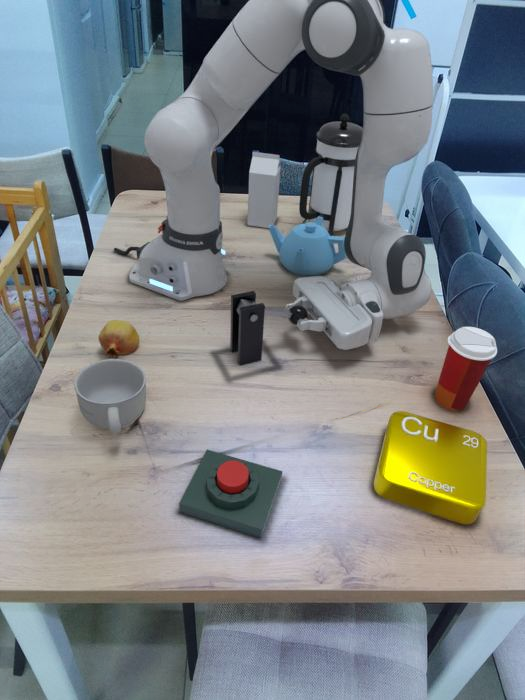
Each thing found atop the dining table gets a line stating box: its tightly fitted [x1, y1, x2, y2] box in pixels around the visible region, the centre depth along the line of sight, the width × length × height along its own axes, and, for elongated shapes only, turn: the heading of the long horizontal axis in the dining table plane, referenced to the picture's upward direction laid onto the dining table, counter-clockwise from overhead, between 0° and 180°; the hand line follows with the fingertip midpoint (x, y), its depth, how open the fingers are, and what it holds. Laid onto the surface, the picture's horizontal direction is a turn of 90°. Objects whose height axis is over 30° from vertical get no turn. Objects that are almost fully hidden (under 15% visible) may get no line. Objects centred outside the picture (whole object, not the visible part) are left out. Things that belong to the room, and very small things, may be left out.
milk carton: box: [247, 151, 282, 229], centre depth 136 cm, size 7×7×19 cm
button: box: [217, 461, 249, 494], centre depth 70 cm, size 4×4×2 cm
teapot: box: [268, 216, 348, 277], centre depth 122 cm, size 15×15×11 cm
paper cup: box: [434, 326, 498, 412], centre depth 86 cm, size 8×8×14 cm
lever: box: [236, 299, 309, 326], centre depth 92 cm, size 14×4×4 cm, turn 113°
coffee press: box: [298, 113, 363, 236], centre depth 131 cm, size 17×16×30 cm
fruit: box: [98, 319, 140, 359], centre depth 94 cm, size 7×7×10 cm
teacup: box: [73, 358, 147, 435], centre depth 80 cm, size 14×11×8 cm
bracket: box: [229, 290, 266, 366], centre depth 92 cm, size 10×8×14 cm
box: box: [178, 449, 283, 539], centre depth 72 cm, size 12×10×4 cm
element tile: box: [373, 410, 488, 525], centre depth 77 cm, size 15×15×5 cm
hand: (292, 317), depth 94 cm, fingers closed on lever, 4 cm apart
